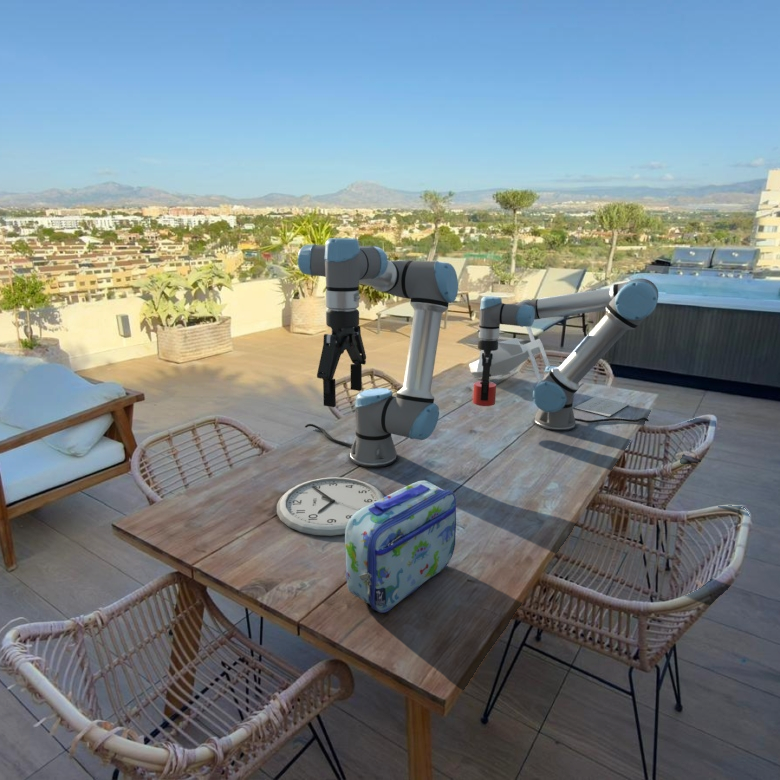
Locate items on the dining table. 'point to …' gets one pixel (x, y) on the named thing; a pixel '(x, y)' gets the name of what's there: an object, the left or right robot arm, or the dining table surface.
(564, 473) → the dining table surface
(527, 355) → the white plastic object
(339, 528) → the wall clock
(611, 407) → the invitation card
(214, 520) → the dining table surface
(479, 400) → the canister
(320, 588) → the dining table surface
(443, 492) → the lunch box
